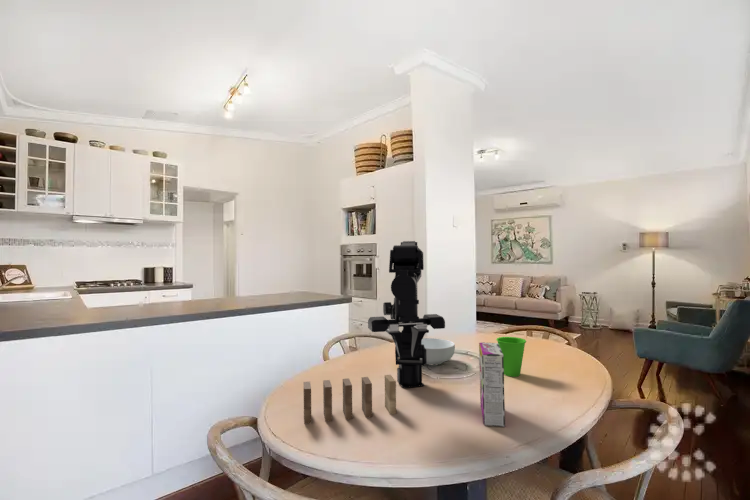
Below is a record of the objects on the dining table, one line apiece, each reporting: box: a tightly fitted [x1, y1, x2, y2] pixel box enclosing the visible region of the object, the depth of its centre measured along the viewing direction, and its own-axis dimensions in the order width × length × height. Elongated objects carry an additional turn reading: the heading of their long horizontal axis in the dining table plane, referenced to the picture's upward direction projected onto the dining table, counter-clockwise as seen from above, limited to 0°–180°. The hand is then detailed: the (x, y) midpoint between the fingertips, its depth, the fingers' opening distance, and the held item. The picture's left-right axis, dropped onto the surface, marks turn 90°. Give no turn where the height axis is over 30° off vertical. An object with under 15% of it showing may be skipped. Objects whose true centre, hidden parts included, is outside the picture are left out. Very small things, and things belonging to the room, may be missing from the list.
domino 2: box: [322, 379, 333, 422], centre depth 92 cm, size 2×5×8 cm, turn 12°
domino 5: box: [384, 374, 397, 415], centre depth 96 cm, size 2×5×8 cm, turn 12°
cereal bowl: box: [420, 337, 456, 365], centre depth 137 cm, size 17×17×7 cm
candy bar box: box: [478, 341, 506, 428], centre depth 91 cm, size 11×5×16 cm, turn 168°
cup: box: [495, 336, 527, 378], centre depth 122 cm, size 9×9×11 cm
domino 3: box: [342, 378, 353, 420], centre depth 93 cm, size 2×5×8 cm, turn 12°
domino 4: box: [361, 376, 373, 418], centre depth 94 cm, size 2×5×8 cm, turn 12°
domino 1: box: [303, 381, 312, 425], centre depth 91 cm, size 2×5×8 cm, turn 12°
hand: (406, 357), depth 96 cm, fingers open, 3 cm apart
